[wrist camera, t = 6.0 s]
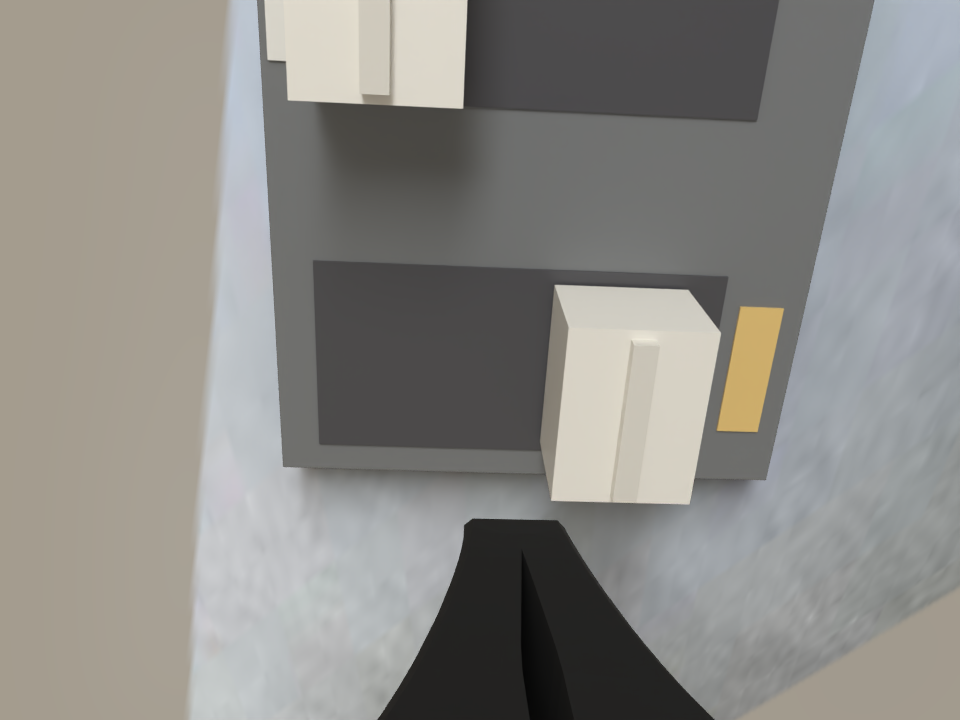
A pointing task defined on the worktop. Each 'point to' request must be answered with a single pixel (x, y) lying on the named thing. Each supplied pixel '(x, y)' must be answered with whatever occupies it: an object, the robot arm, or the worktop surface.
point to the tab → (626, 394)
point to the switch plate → (551, 220)
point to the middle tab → (376, 51)
